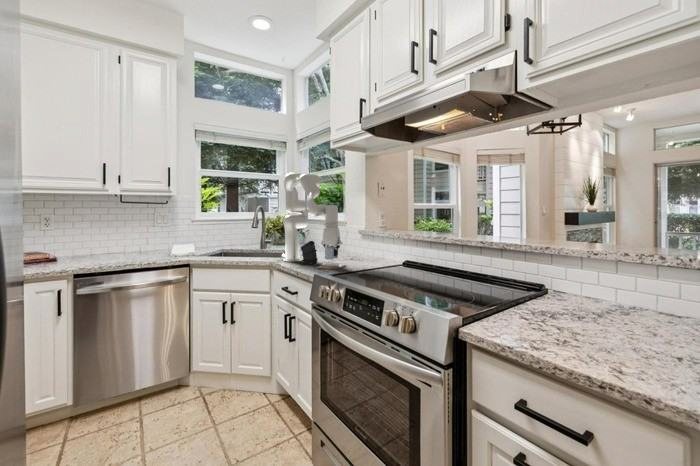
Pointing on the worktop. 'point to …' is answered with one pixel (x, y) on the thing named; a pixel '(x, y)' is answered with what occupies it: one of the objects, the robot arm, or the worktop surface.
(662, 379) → the worktop surface
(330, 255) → the module
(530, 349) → the worktop surface
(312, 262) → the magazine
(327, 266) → the rail board
